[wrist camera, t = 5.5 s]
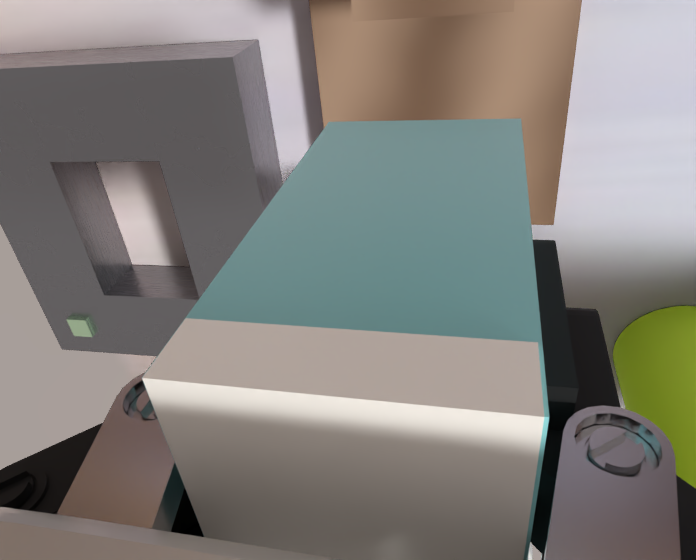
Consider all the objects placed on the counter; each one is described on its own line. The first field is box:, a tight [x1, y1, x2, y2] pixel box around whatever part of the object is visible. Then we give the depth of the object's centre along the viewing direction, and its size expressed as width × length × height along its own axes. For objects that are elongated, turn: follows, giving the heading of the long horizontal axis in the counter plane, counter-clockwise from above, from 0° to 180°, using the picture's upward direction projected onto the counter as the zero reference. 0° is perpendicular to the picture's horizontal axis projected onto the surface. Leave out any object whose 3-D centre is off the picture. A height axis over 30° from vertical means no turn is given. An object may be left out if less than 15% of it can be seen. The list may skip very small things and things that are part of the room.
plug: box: [142, 118, 549, 560], centre depth 10 cm, size 4×6×8 cm, turn 6°
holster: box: [309, 0, 582, 225], centre depth 22 cm, size 10×12×5 cm
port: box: [0, 40, 283, 356], centre depth 29 cm, size 14×16×3 cm
